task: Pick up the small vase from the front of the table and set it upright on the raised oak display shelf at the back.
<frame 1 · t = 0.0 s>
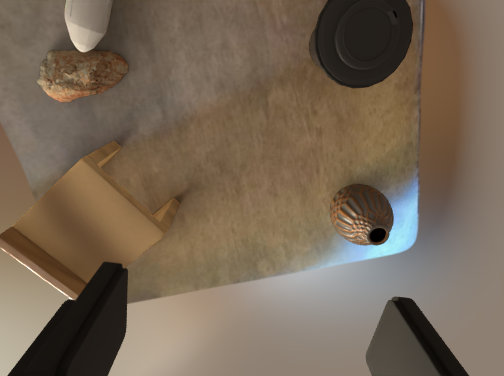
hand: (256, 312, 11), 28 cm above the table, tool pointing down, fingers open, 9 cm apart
vase: (350, 201, 40), on the table
coffee cup: (332, 44, 33), on the table
shelf: (116, 202, 39), on the table
brown rock: (84, 73, 33), on the table
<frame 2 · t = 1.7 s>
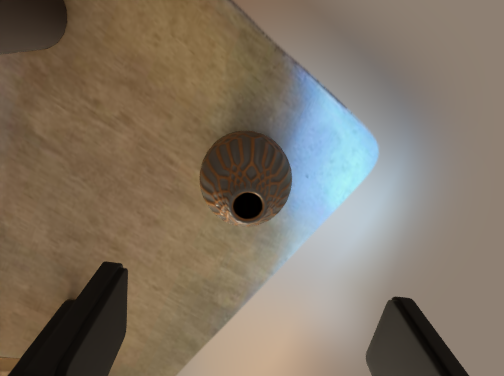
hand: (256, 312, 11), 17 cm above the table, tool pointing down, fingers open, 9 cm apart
vase: (244, 163, 27), on the table
coffee cup: (29, 9, 22), on the table
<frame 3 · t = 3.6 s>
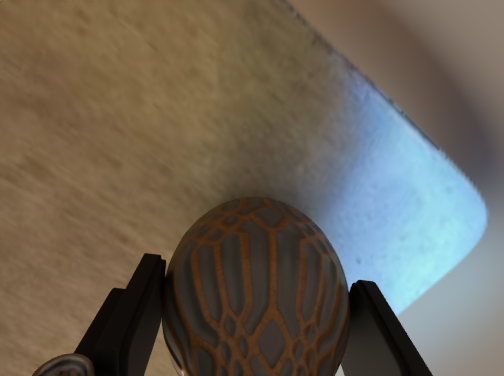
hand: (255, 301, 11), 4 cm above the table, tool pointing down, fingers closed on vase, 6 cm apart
vase: (252, 239, 15), on the table, touching gripper
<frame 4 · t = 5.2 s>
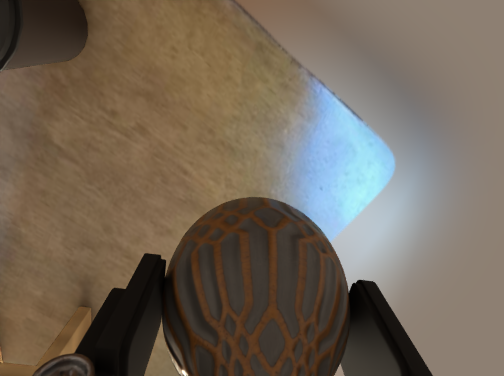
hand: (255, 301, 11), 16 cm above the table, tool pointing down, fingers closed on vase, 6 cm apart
vase: (252, 239, 15), point 12 cm above the table, touching gripper
coffee cup: (52, 23, 22), on the table
shelf: (40, 344, 33), on the table
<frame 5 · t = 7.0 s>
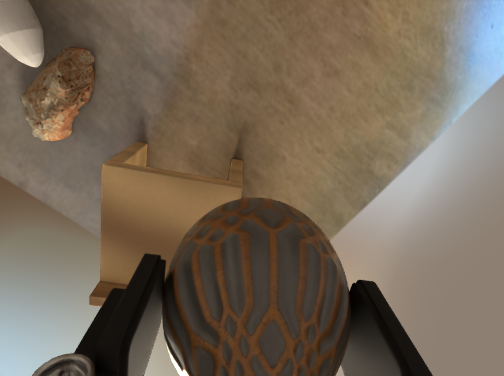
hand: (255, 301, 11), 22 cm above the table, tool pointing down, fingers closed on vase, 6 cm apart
vase: (252, 240, 15), point 17 cm above the table, touching gripper
shelf: (183, 203, 33), on the table
brown rock: (63, 94, 29), on the table
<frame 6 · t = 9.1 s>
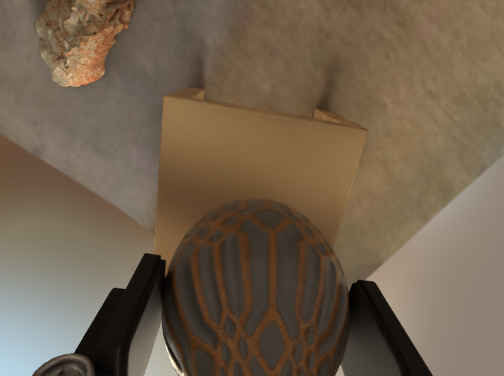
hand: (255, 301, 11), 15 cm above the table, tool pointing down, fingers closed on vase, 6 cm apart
vase: (252, 240, 15), point 11 cm above the table, touching gripper
shelf: (248, 172, 25), on the table
brown rock: (92, 19, 21), on the table
when the fingers open (12 cm above the table, at t = 10.5 s): vase stays where it is, resting on shelf.
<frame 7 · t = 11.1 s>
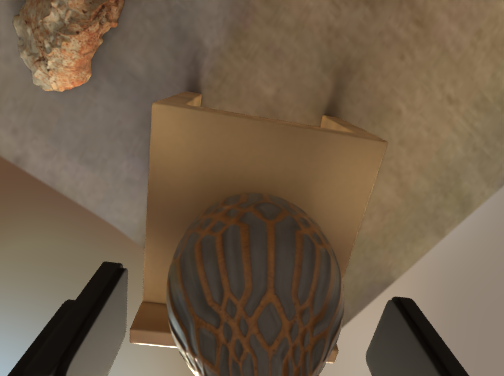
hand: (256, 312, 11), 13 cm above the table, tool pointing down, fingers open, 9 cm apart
vase: (251, 234, 16), point 8 cm above the table, touching shelf
shelf: (249, 184, 23), on the table
brown rock: (77, 17, 19), on the table
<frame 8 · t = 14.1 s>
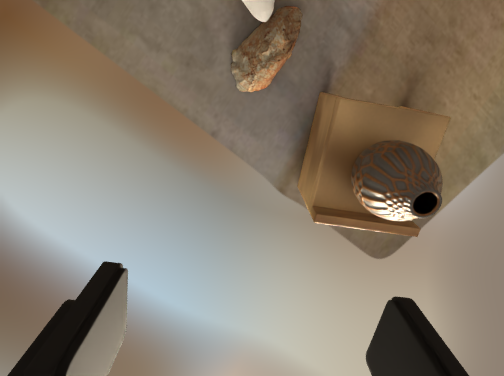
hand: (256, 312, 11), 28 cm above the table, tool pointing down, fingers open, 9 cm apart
vase: (376, 167, 31), point 8 cm above the table, touching shelf
shelf: (350, 148, 38), on the table
brown rock: (266, 50, 34), on the table
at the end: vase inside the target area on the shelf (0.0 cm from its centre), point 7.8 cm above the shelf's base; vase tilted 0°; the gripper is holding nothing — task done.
